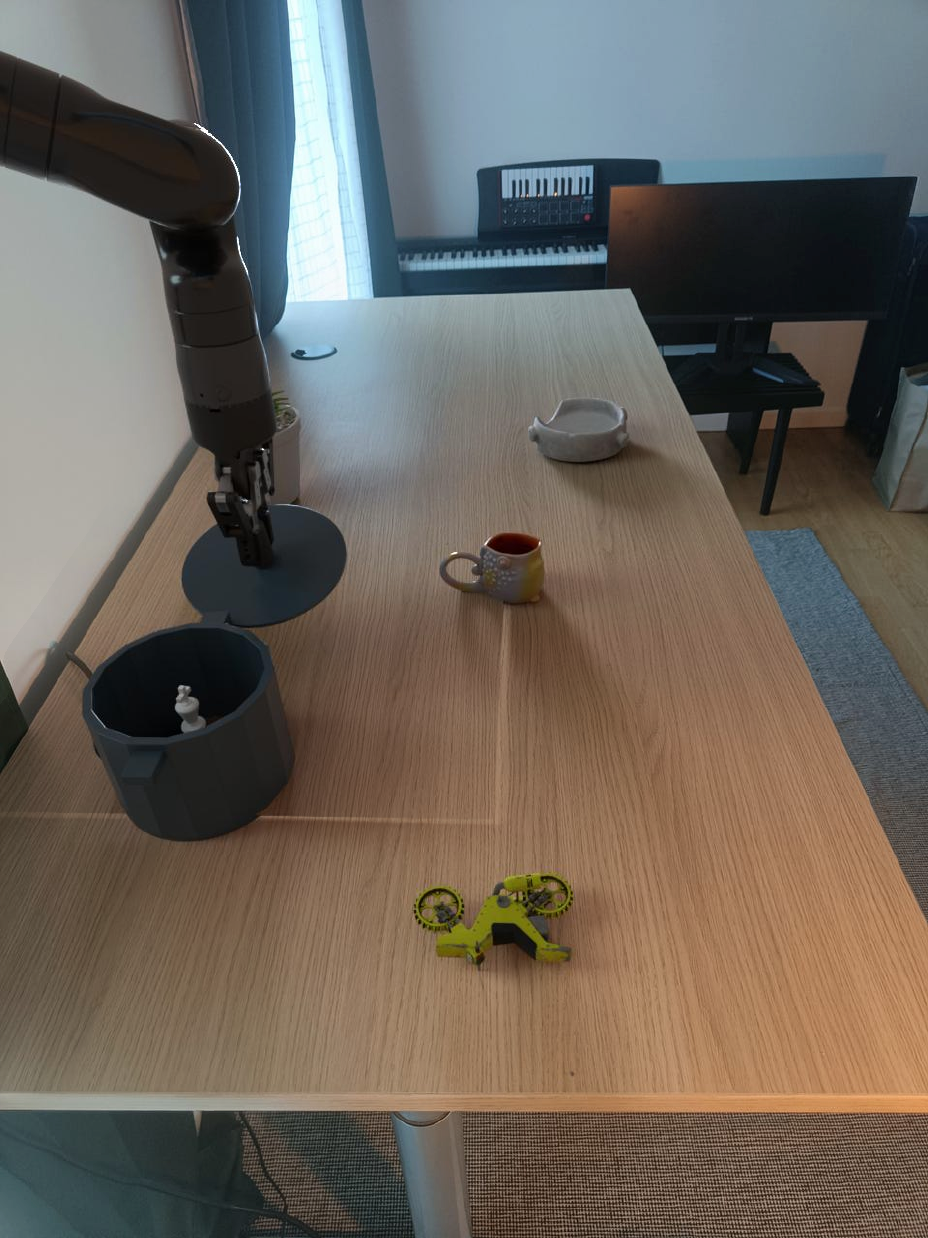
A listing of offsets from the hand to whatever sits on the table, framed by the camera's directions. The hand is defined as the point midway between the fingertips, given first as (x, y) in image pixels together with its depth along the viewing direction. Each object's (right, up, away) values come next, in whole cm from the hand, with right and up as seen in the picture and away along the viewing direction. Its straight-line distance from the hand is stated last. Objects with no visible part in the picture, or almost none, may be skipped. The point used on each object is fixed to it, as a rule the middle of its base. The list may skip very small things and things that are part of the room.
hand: (258, 553), depth 86 cm
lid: (0, -1, +2) cm, 2 cm away
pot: (-3, -21, -6) cm, 22 cm away
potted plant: (-8, +10, +37) cm, 39 cm away
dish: (+38, +19, +45) cm, 62 cm away
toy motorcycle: (+23, -30, -21) cm, 43 cm away
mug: (+24, -3, +16) cm, 28 cm away
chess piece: (-3, -20, -6) cm, 21 cm away
